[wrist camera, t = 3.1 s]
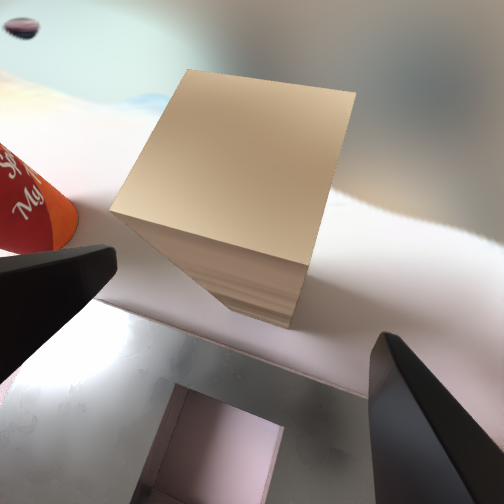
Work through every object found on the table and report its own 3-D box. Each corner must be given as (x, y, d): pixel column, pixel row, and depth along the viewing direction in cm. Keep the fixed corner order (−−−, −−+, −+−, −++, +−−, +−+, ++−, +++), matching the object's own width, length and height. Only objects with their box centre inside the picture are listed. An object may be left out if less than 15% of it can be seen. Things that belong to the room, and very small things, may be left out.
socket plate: (431, 707, 12) (478, 821, 9) (7, 469, 16) (-50, 494, 14) (453, 427, 15) (493, 444, 12) (95, 298, 20) (64, 289, 17)
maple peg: (288, 329, 18) (308, 265, 4) (231, 310, 18) (108, 210, 5) (303, 273, 19) (356, 93, 6) (249, 257, 20) (187, 68, 6)
